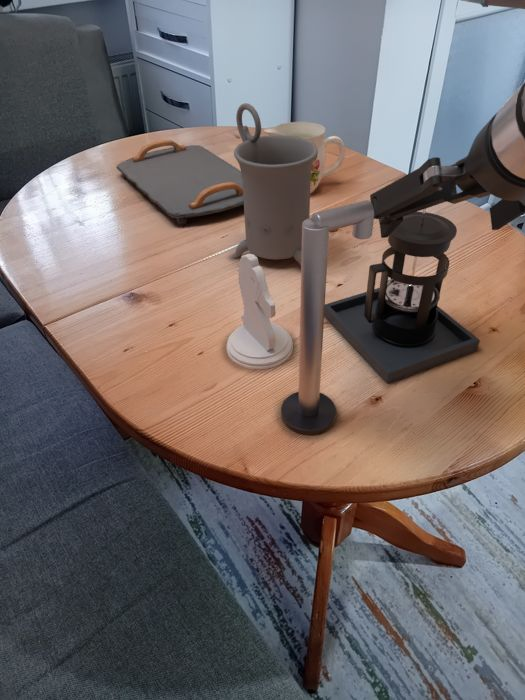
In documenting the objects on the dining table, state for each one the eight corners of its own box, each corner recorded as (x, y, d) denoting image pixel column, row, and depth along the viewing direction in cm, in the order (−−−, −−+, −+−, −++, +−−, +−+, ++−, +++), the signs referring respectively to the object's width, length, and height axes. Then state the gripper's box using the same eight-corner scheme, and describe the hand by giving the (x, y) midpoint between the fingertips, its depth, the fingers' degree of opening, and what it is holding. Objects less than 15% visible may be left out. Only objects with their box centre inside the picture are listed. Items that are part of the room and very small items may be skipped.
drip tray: (403, 289, 90) (405, 279, 89) (477, 350, 78) (480, 340, 76) (322, 315, 85) (322, 304, 84) (386, 384, 73) (388, 373, 72)
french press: (421, 304, 86) (449, 162, 71) (451, 340, 79) (489, 191, 64) (352, 317, 84) (366, 174, 69) (376, 355, 77) (398, 205, 62)
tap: (337, 382, 74) (354, 186, 55) (366, 416, 69) (395, 214, 50) (272, 406, 70) (267, 207, 52) (296, 443, 66) (300, 238, 47)
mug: (338, 258, 98) (348, 115, 82) (275, 287, 91) (273, 138, 75) (273, 222, 110) (271, 90, 93) (213, 245, 103) (200, 108, 87)
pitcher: (349, 194, 118) (355, 130, 110) (270, 203, 116) (268, 139, 107) (334, 175, 127) (338, 114, 118) (260, 183, 124) (258, 122, 115)
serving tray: (276, 205, 115) (276, 177, 111) (179, 235, 106) (174, 206, 102) (196, 151, 141) (193, 127, 137) (111, 172, 132) (106, 147, 128)
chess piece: (248, 379, 74) (242, 289, 65) (215, 341, 81) (205, 254, 71) (306, 353, 78) (308, 264, 68) (270, 319, 85) (267, 234, 75)
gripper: (386, 195, 43) (339, 260, 64) (687, 175, 44) (543, 246, 65) (377, 105, 43) (333, 199, 65) (675, 87, 44) (535, 186, 66)
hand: (438, 223), depth 65 cm, fingers open, 13 cm apart
